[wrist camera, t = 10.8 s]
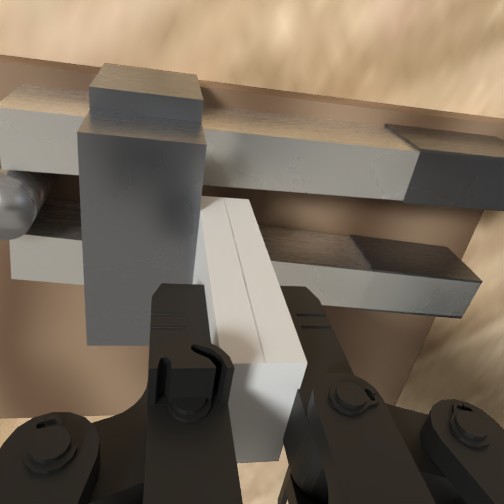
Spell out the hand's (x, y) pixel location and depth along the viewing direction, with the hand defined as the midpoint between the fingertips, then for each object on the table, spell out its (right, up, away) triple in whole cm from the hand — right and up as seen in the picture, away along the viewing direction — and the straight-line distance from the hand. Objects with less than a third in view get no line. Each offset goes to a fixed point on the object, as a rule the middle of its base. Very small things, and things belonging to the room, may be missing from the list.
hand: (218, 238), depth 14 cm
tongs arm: (+1, +1, +5) cm, 5 cm away
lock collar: (-3, +3, +3) cm, 5 cm away
